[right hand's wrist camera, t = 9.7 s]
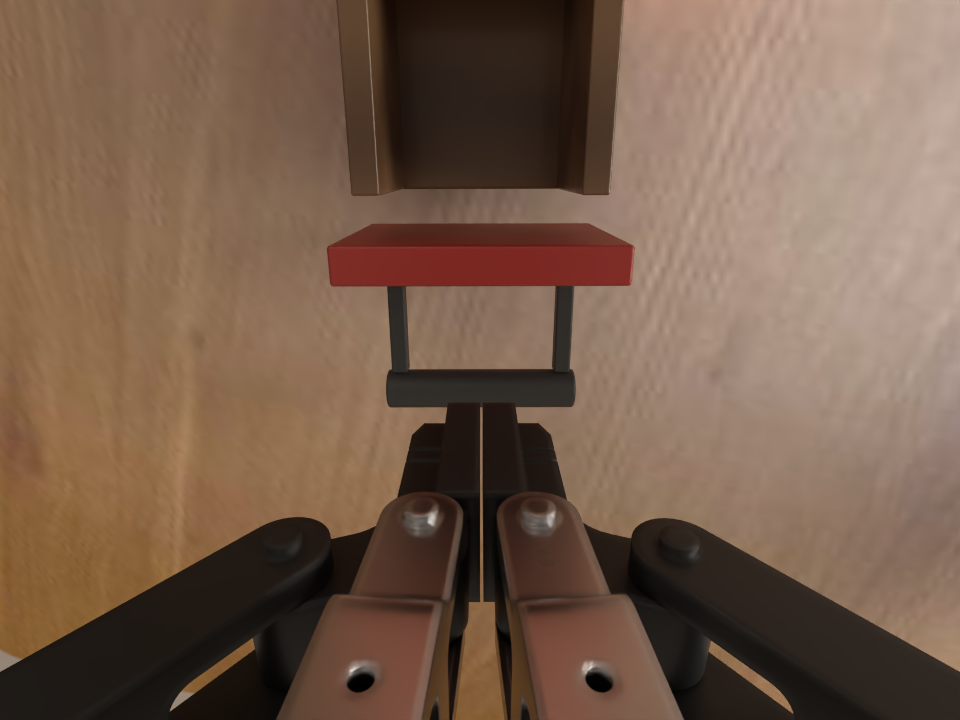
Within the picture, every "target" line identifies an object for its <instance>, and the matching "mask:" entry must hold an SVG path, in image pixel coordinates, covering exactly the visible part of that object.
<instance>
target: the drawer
mask: <svg viewBox="0 0 960 720" xmlns="http://www.w3.org/2000/svg"><path fill="white" fill-rule="evenodd" d="M623 10H624V0H337V12H338V25H339V38H340V51H341V65H342V78H343V91H344V104H345V117H346V130H347V143H348V156H349V169H350V182H351V194H352V195H353V196H364V195H381V194H385V193H389V192H393V191H397V190H401V189H562V190H566V191H570V192H574V193H578V194H582V195H609V194H610V186H611V173H612V159H613V146H614V132H615V119H616V105H617V91H618V78H619V64H620V51H621V37H622V24H623ZM634 249H635V248H634V246H633V245H631V244H629V243H627V242H625V241H623V240H621V239H619V238H617V237H615V236H613V235H611V234H609V233H607V232H605V231H603V230H601V229H599V228H597V227H595V226H593V225H591V224H588V223H570V224H371V225H369V226H367V227H365V228H364V229H362V230H360V231H358V232H356V233H354V234H352V235H350V236H348V237H346V238H344V239H342V240H340V241H338V242H336V243H334V244H332V245H330V246H328V248H327V254H328V264H329V275H330V284H331V285H332V286H387V291H388V308H389V324H390V341H391V358H392V370H389V372H388V375H387V382H386V396H387V403H388V406H389V407H448V402H480V407H483V402H515V407H572V406H573V405H574V402H575V393H576V385H575V376H574V372H573V370H571V369H570V352H571V334H572V316H573V298H574V286H629V285H631V282H632V271H633V260H634ZM406 286H556V290H555V312H554V335H553V357H552V368H553V369H409V367H410V365H409V345H408V324H407V303H406Z"/></svg>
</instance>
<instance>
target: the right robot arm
mask: <svg viewBox="0 0 960 720" xmlns="http://www.w3.org/2000/svg"><path fill="white" fill-rule="evenodd" d="M483 590H484V602H495V645H496V653H497V661H498V670H499V678H500V686H501V695H502V703H503V711H504V720H960V672H959V671H957V670H955V669H954V668H952V667H950V666H948V665H946V664H945V663H943V662H941V661H939V660H937V659H936V658H934V657H932V656H930V655H928V654H927V653H925V652H923V651H921V650H919V649H918V648H916V647H914V646H912V645H910V644H909V643H907V642H905V641H903V640H902V639H900V638H898V637H896V636H894V635H893V634H891V633H889V632H887V631H885V630H884V629H882V628H880V627H878V626H876V625H875V624H873V623H871V622H869V621H867V620H866V619H864V618H862V617H860V616H858V615H857V614H855V613H853V612H851V611H849V610H848V609H846V608H844V607H842V606H841V605H839V604H837V603H835V602H833V601H832V600H830V599H828V598H826V597H824V596H823V595H821V594H819V593H817V592H815V591H814V590H812V589H810V588H808V587H806V586H805V585H803V584H801V583H799V582H797V581H796V580H794V579H792V578H790V577H789V576H787V575H785V574H783V573H781V572H780V571H778V570H776V569H774V568H772V567H771V566H769V565H767V564H765V563H763V562H762V561H760V560H758V559H756V558H754V557H753V556H751V555H749V554H747V553H745V552H744V551H742V550H740V549H738V548H737V547H735V546H733V545H731V544H729V543H728V542H726V541H724V540H722V539H720V538H719V537H717V536H715V535H713V534H711V533H710V532H708V531H706V530H704V529H702V528H700V527H698V526H696V525H694V524H691V523H689V522H685V521H681V520H676V519H668V518H660V519H652V520H649V521H645V522H643V523H641V524H640V525H639V526H637V527H636V528H635V530H634V531H633V534H632V538H631V539H630V538H626V537H621V536H617V535H612V534H608V533H605V532H601V531H599V530H596V529H594V528H592V527H589V526H587V525H586V524H584V523H583V522H582V519H581V517H580V514H579V512H578V511H577V509H576V508H575V507H574V506H573V505H572V504H571V503H570V502H569V501H567V499H566V495H565V491H564V487H563V483H562V479H561V474H560V470H559V466H558V462H557V458H556V454H555V451H554V446H553V442H552V438H551V435H550V434H549V433H548V432H547V431H546V430H545V429H544V428H543V427H542V426H541V425H540V424H539V423H518V422H517V415H516V408H515V402H483ZM469 602H480V402H448V407H447V414H446V422H445V423H424V424H423V425H422V426H421V427H420V428H419V429H418V430H417V431H416V432H415V433H414V434H413V435H412V438H411V442H410V446H409V451H408V455H407V459H406V463H405V467H404V472H403V476H402V480H401V484H400V489H399V493H398V497H397V498H396V499H395V500H393V501H391V502H390V503H389V504H388V505H387V506H386V507H385V508H384V509H383V511H382V512H381V514H380V517H379V519H378V522H377V525H376V526H375V527H373V528H371V529H368V530H366V531H363V532H360V533H356V534H352V535H348V536H343V537H339V538H334V539H331V536H330V532H329V530H328V529H327V527H326V526H325V525H324V524H322V523H321V522H319V521H317V520H314V519H311V518H305V517H292V518H285V519H280V520H276V521H273V522H270V523H268V524H265V525H263V526H261V527H259V528H258V529H256V530H254V531H252V532H250V533H249V534H247V535H245V536H243V537H241V538H240V539H238V540H236V541H234V542H232V543H231V544H229V545H227V546H225V547H223V548H222V549H220V550H218V551H216V552H215V553H213V554H211V555H209V556H207V557H206V558H204V559H202V560H200V561H198V562H197V563H195V564H193V565H191V566H189V567H188V568H186V569H184V570H182V571H180V572H179V573H177V574H175V575H173V576H171V577H170V578H168V579H166V580H164V581H163V582H161V583H159V584H157V585H155V586H154V587H152V588H150V589H148V590H146V591H145V592H143V593H141V594H139V595H137V596H136V597H134V598H132V599H130V600H128V601H127V602H125V603H123V604H121V605H119V606H118V607H116V608H114V609H112V610H111V611H109V612H107V613H105V614H103V615H102V616H100V617H98V618H96V619H94V620H93V621H91V622H89V623H87V624H85V625H84V626H82V627H80V628H78V629H76V630H75V631H73V632H71V633H69V634H67V635H66V636H64V637H62V638H60V639H59V640H57V641H55V642H53V643H51V644H50V645H48V646H46V647H44V648H42V649H41V650H39V651H37V652H35V653H33V654H32V655H30V656H28V657H26V658H24V659H23V660H21V661H19V662H17V663H16V664H14V665H12V666H10V667H8V668H7V669H5V670H3V671H1V672H0V720H456V711H457V703H458V695H459V686H460V678H461V670H462V661H463V653H464V645H465V628H466V626H467V623H468V612H469ZM251 638H253V641H254V646H255V650H253V651H252V652H251V653H249V654H248V655H247V656H245V657H244V658H243V659H241V660H240V661H238V662H237V663H236V664H234V665H233V666H232V667H230V668H229V669H228V670H226V671H225V672H223V673H222V674H221V675H219V676H218V677H217V678H215V679H214V680H213V681H211V682H210V683H208V684H207V685H206V686H204V687H203V688H202V689H200V690H199V691H198V692H196V693H195V694H193V695H192V696H191V697H189V698H188V699H187V700H185V701H184V702H183V703H181V704H180V705H178V706H177V707H176V708H174V709H173V710H172V711H170V708H171V706H172V704H173V702H174V700H175V699H176V697H177V696H178V694H179V693H180V692H181V691H182V690H183V689H184V688H185V687H186V686H187V685H188V684H189V683H190V682H191V681H193V680H194V679H195V678H197V677H198V676H200V675H201V674H202V673H204V672H205V671H207V670H208V669H209V668H211V667H212V666H214V665H215V664H216V663H218V662H219V661H221V660H222V659H223V658H225V657H226V656H228V655H229V654H230V653H232V652H233V651H235V650H236V649H237V648H239V647H240V646H242V645H243V644H244V643H246V642H247V641H249V640H250V639H251ZM711 641H713V642H714V643H716V644H717V645H718V646H720V647H721V648H723V649H724V650H725V651H727V652H728V653H730V654H731V655H732V656H734V657H735V658H737V659H738V660H739V661H741V662H742V663H744V664H745V665H746V666H748V667H749V668H751V669H752V670H753V671H755V672H756V673H758V674H759V675H760V676H762V677H763V678H765V679H766V680H767V681H769V682H770V683H771V684H773V685H774V686H775V687H776V688H777V689H778V690H779V691H780V692H781V693H782V694H783V695H784V696H785V698H786V699H787V701H788V702H789V704H790V706H791V708H792V710H793V713H794V714H793V713H791V712H790V711H788V710H787V709H786V708H784V707H783V706H782V705H780V704H779V703H777V702H776V701H775V700H773V699H772V698H771V697H769V696H768V695H767V694H765V693H764V692H762V691H761V690H760V689H758V688H757V687H756V686H754V685H753V684H752V683H750V682H749V681H747V680H746V679H745V678H743V677H742V676H741V675H739V674H738V673H737V672H735V671H734V670H732V669H731V668H730V667H728V666H727V665H726V664H724V663H723V662H722V661H720V660H719V659H717V658H716V657H715V656H713V655H712V654H711V653H709V652H708V651H709V647H710V642H711Z"/></svg>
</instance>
